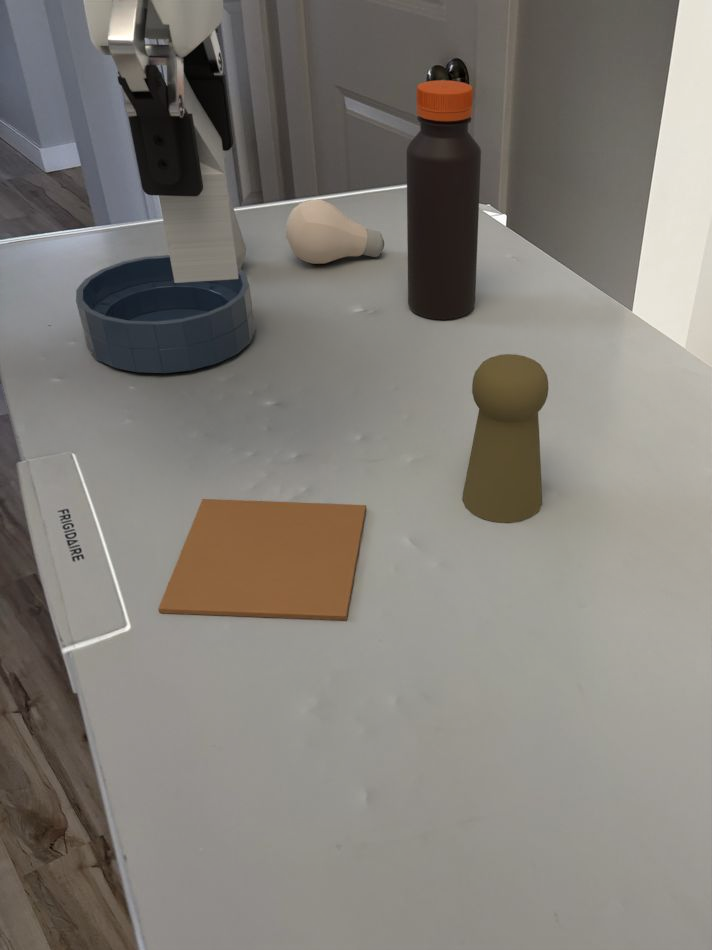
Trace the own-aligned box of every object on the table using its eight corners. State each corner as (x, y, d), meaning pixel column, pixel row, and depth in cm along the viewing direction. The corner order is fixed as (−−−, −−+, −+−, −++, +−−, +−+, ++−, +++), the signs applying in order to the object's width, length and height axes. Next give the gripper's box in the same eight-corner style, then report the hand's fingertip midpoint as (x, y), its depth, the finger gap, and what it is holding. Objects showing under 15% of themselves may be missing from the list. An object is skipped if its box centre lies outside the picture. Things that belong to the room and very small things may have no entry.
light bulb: (386, 202, 103) (289, 180, 98) (398, 235, 99) (297, 214, 94) (370, 255, 107) (276, 236, 103) (380, 288, 103) (283, 271, 99)
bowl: (65, 374, 82) (50, 320, 79) (117, 301, 93) (106, 252, 90) (236, 380, 82) (228, 327, 79) (268, 306, 93) (262, 257, 90)
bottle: (487, 303, 95) (498, 85, 82) (451, 327, 91) (457, 101, 77) (431, 287, 98) (433, 73, 84) (394, 310, 93) (390, 88, 80)
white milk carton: (234, 237, 60) (211, 61, 53) (238, 278, 55) (213, 91, 48) (175, 240, 59) (144, 63, 53) (174, 282, 54) (140, 93, 48)
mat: (159, 613, 59) (158, 608, 59) (203, 503, 68) (202, 498, 68) (346, 620, 59) (346, 616, 59) (366, 509, 68) (366, 504, 68)
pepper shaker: (458, 476, 71) (462, 343, 64) (536, 474, 72) (549, 342, 64) (466, 524, 67) (471, 387, 60) (549, 521, 67) (564, 384, 60)
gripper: (102, -242, 48) (165, 126, 60) (-37, -248, 35) (78, 222, 47) (245, -238, 48) (280, 129, 60) (159, -243, 35) (225, 226, 47)
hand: (191, 168), depth 54 cm, fingers closed on white milk carton, 7 cm apart
